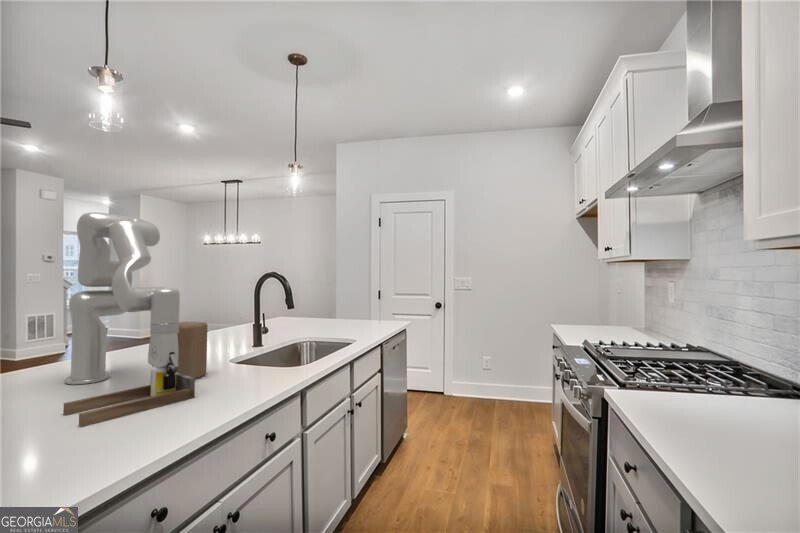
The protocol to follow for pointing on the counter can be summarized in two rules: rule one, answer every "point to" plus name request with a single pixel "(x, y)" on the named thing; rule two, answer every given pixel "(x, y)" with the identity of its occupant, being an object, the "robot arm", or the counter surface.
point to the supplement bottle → (159, 381)
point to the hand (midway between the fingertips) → (163, 386)
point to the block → (192, 349)
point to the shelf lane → (183, 392)
